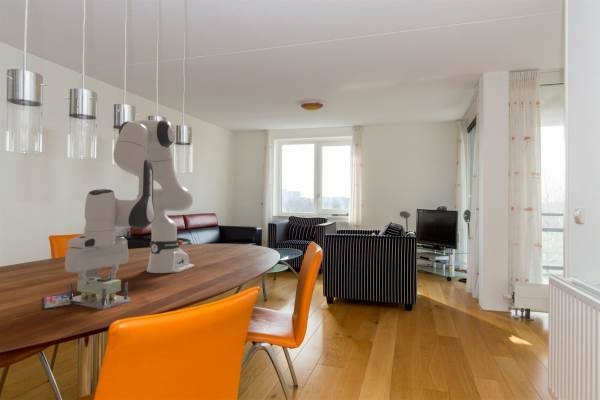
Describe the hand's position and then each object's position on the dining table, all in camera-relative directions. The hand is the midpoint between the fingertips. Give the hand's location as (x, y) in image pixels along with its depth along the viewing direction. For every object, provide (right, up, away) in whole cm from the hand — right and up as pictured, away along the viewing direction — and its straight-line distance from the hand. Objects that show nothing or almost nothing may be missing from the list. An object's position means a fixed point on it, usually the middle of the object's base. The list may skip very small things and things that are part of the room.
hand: (99, 281), depth 110 cm
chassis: (0, -7, 0) cm, 6 cm away
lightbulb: (-12, -7, +16) cm, 21 cm away
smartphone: (-13, -7, -1) cm, 14 cm away
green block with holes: (0, -3, 0) cm, 3 cm away
